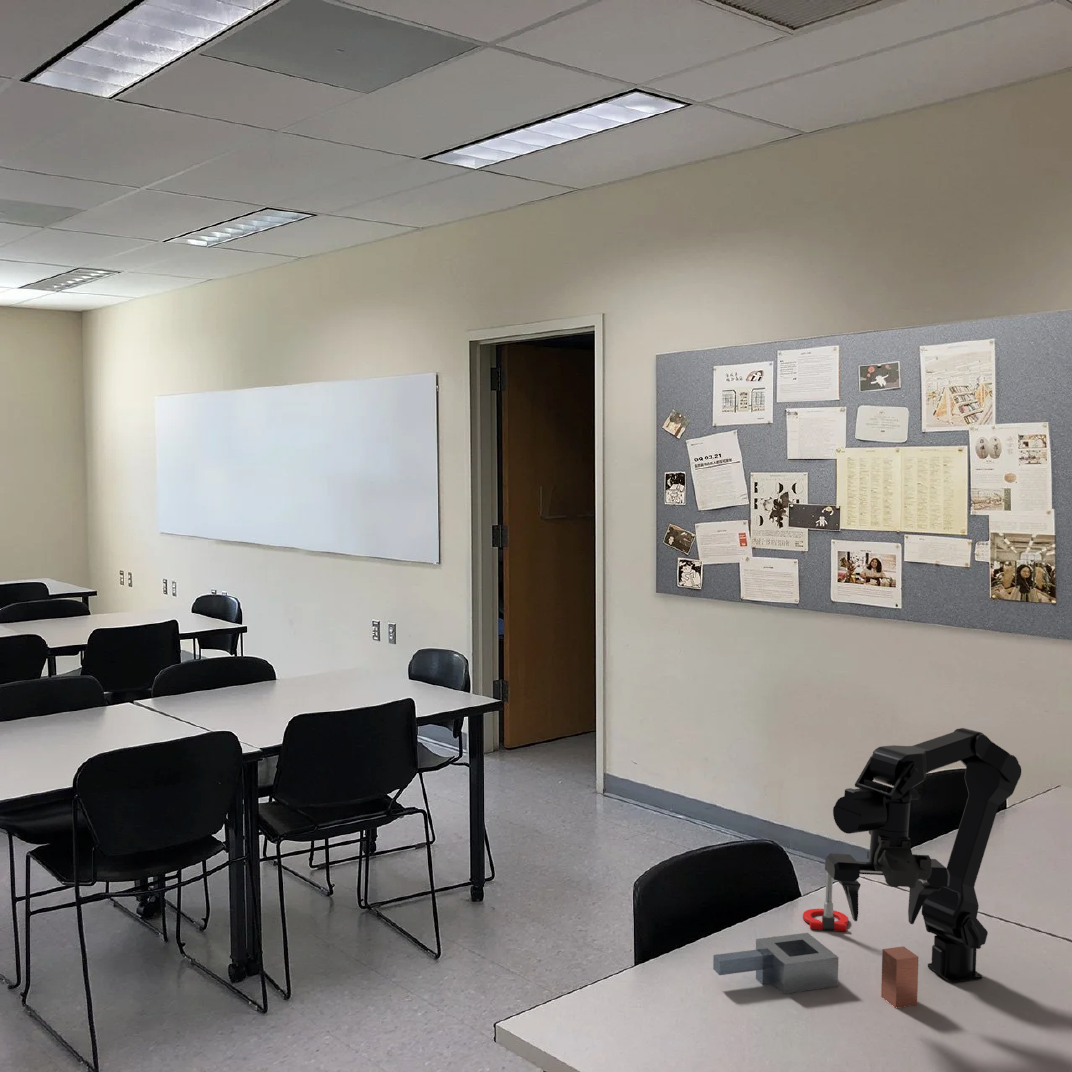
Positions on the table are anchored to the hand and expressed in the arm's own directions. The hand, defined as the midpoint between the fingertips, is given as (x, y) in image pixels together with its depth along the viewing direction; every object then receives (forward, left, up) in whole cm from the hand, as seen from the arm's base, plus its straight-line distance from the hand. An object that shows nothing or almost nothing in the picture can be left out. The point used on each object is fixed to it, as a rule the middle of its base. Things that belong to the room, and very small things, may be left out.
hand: (882, 921), depth 179 cm
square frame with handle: (+14, -11, -13) cm, 22 cm away
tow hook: (-7, -30, -13) cm, 33 cm away
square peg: (-2, +1, -13) cm, 13 cm away
